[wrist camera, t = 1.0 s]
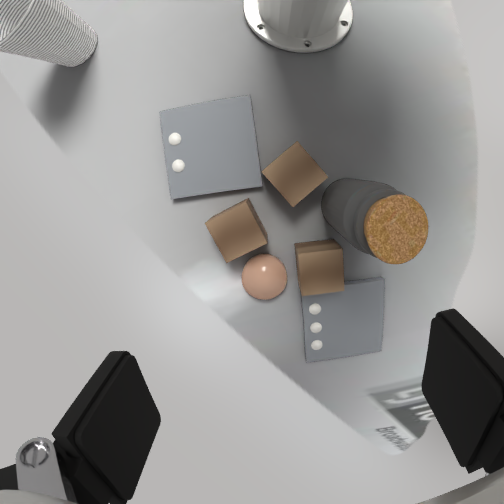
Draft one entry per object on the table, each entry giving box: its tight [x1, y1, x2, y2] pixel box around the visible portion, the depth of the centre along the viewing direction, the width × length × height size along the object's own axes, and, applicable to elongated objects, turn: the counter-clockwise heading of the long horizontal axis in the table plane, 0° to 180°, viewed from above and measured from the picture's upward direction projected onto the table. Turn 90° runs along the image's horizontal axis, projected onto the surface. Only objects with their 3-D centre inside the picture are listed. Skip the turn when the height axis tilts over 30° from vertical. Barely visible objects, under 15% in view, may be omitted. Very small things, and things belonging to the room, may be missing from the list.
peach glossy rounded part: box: [242, 254, 287, 300], centre depth 35 cm, size 5×5×2 cm
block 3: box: [295, 239, 344, 296], centre depth 33 cm, size 4×4×4 cm
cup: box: [0, 0, 97, 67], centre depth 22 cm, size 8×8×16 cm
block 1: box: [205, 198, 267, 263], centre depth 33 cm, size 4×4×4 cm
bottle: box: [322, 179, 428, 264], centre depth 26 cm, size 6×6×15 cm
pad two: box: [160, 95, 262, 199], centre depth 32 cm, size 10×10×1 cm
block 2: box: [262, 141, 328, 207], centre depth 31 cm, size 4×4×4 cm
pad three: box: [301, 277, 385, 363], centre depth 36 cm, size 10×10×1 cm
